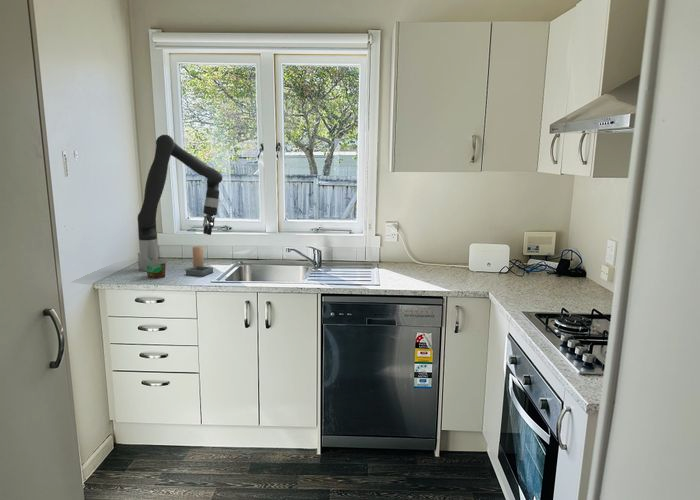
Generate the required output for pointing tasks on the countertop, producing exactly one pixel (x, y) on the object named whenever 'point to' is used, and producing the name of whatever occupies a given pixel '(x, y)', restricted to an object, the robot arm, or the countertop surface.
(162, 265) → the food container
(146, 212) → the robot arm
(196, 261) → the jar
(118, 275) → the countertop surface
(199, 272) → the holder
